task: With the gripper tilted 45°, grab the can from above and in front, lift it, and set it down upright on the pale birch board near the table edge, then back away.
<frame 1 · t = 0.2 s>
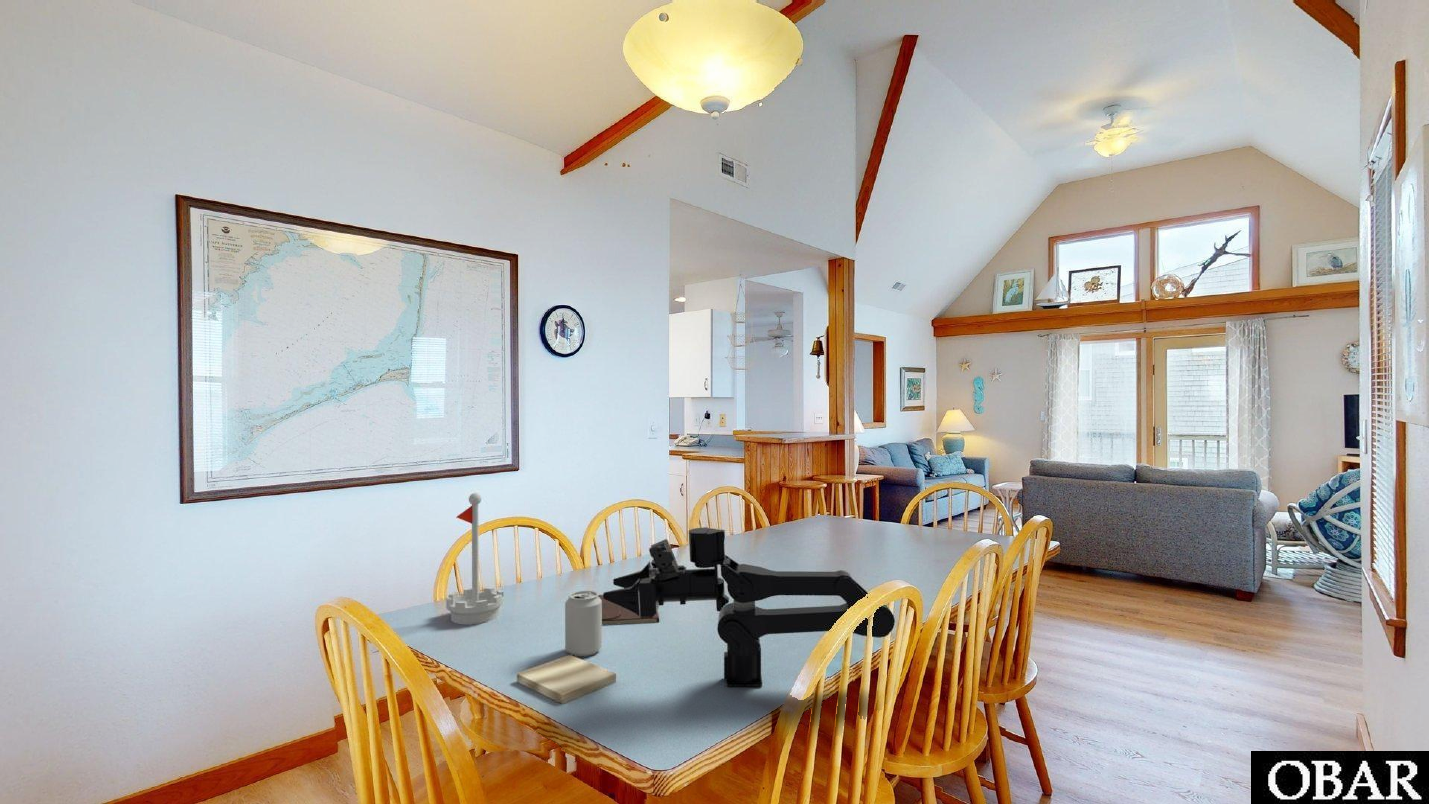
hand: (608, 588, 125), 17 cm above the table, tool horizontal, fingers open, 9 cm apart
notebook: (626, 613, 165), on the table
board: (566, 681, 123), on the table
can: (583, 652, 138), on the table
flag stand: (475, 617, 161), on the table
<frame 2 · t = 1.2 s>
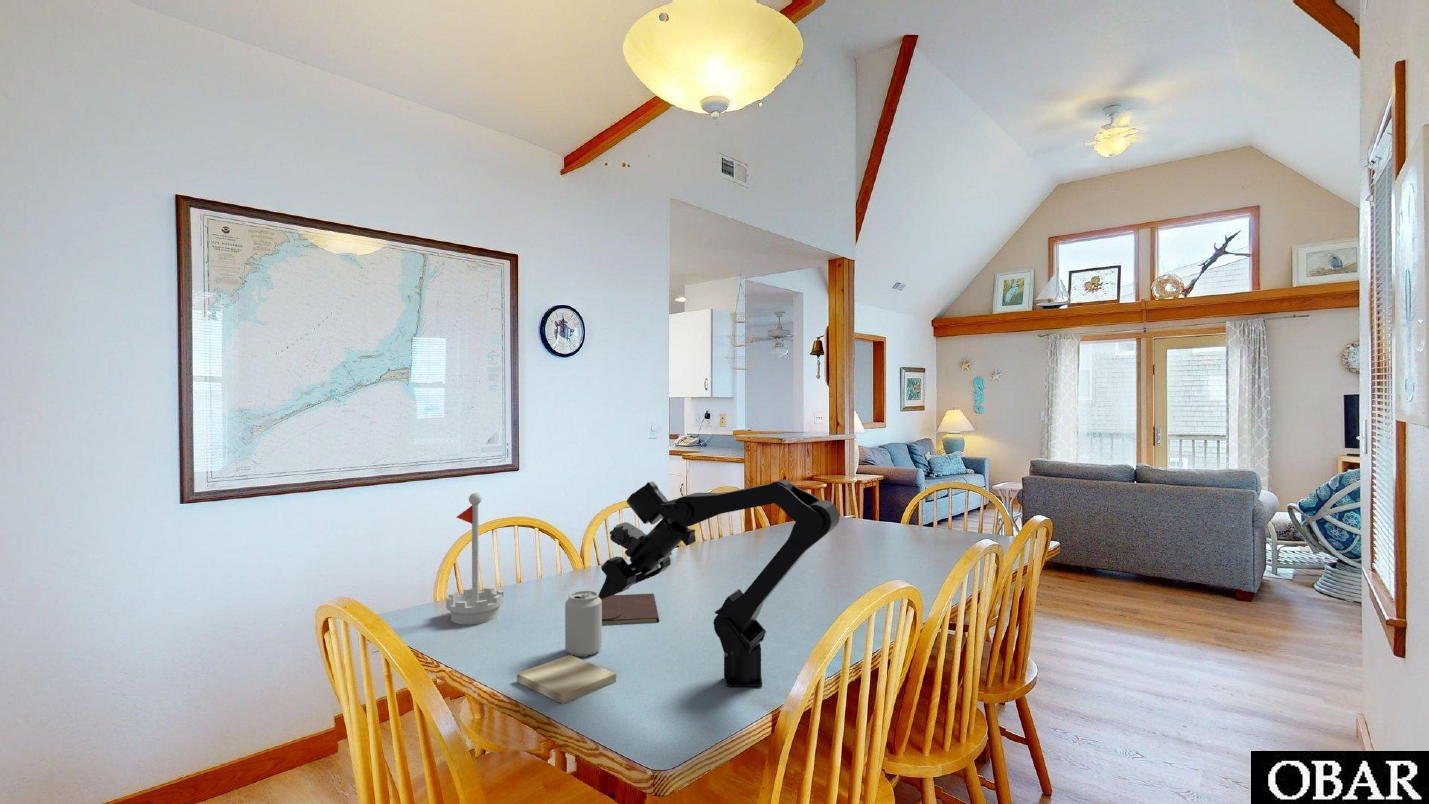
hand: (612, 591, 135), 13 cm above the table, tool tilted 45°, fingers open, 9 cm apart
nothing on the table moved.
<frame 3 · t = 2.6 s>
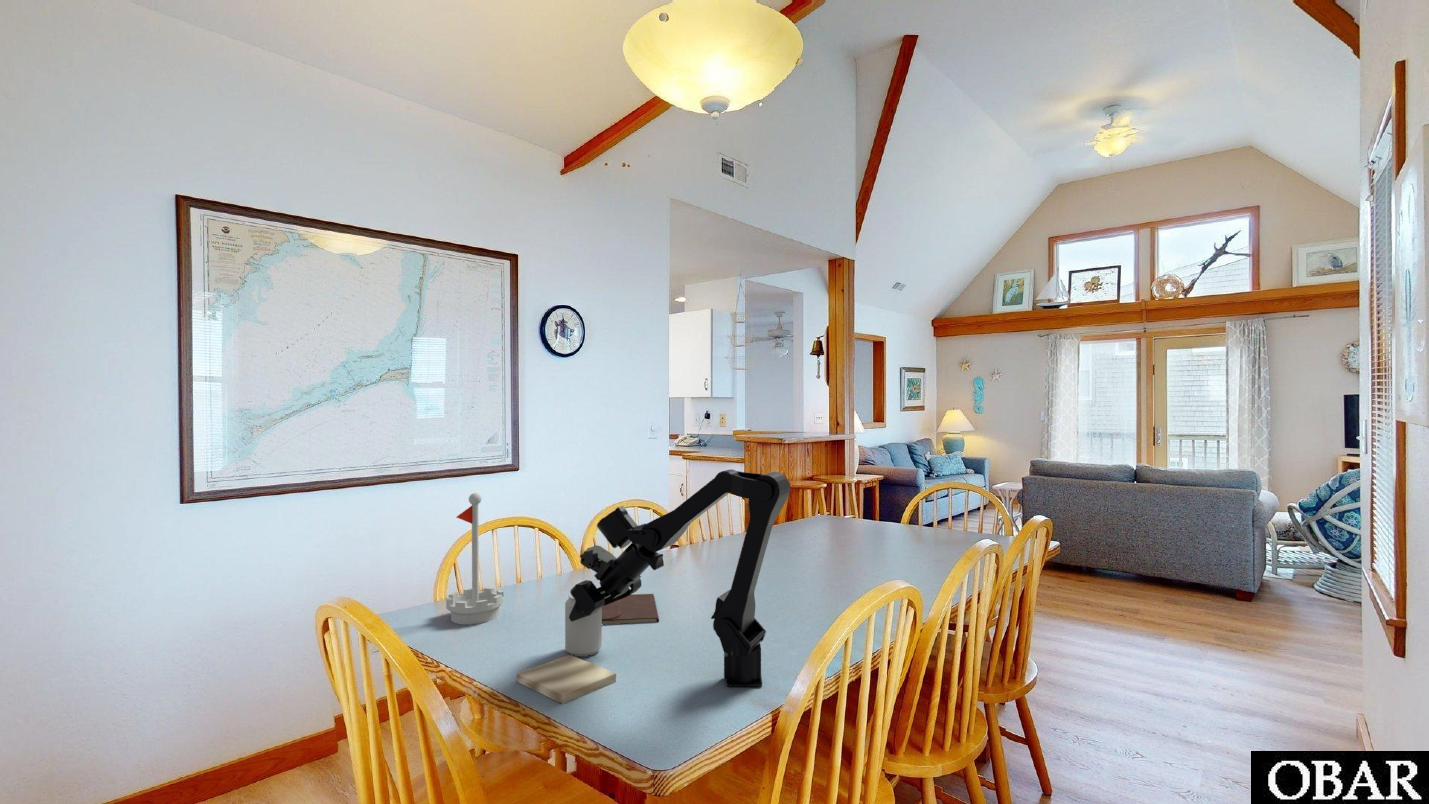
hand: (583, 612, 138), 8 cm above the table, tool tilted 45°, fingers open, 9 cm apart
nothing on the table moved.
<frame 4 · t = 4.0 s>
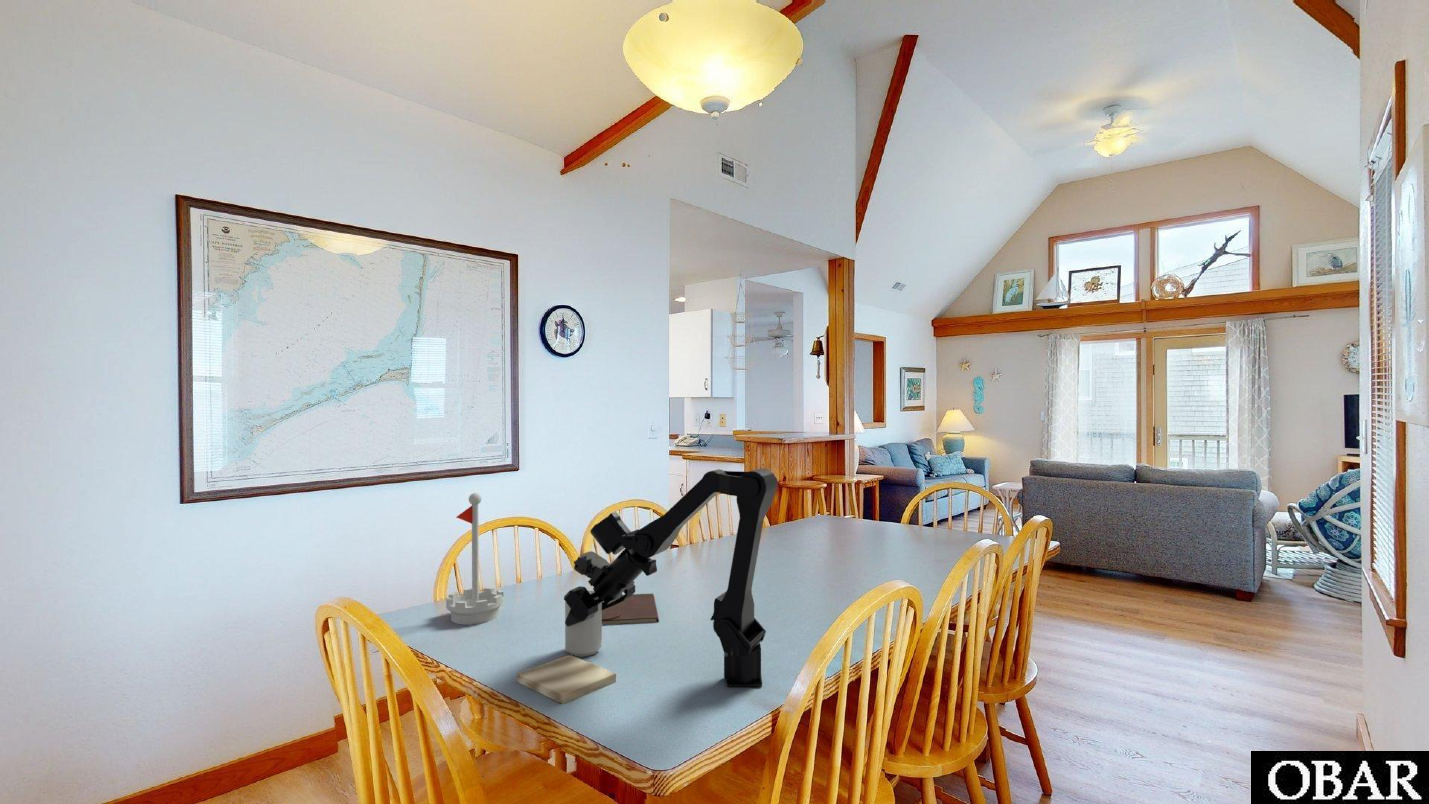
hand: (577, 618, 139), 7 cm above the table, tool tilted 45°, fingers closed on can, 7 cm apart
can: (583, 652, 138), on the table, touching gripper
everything else where it was.
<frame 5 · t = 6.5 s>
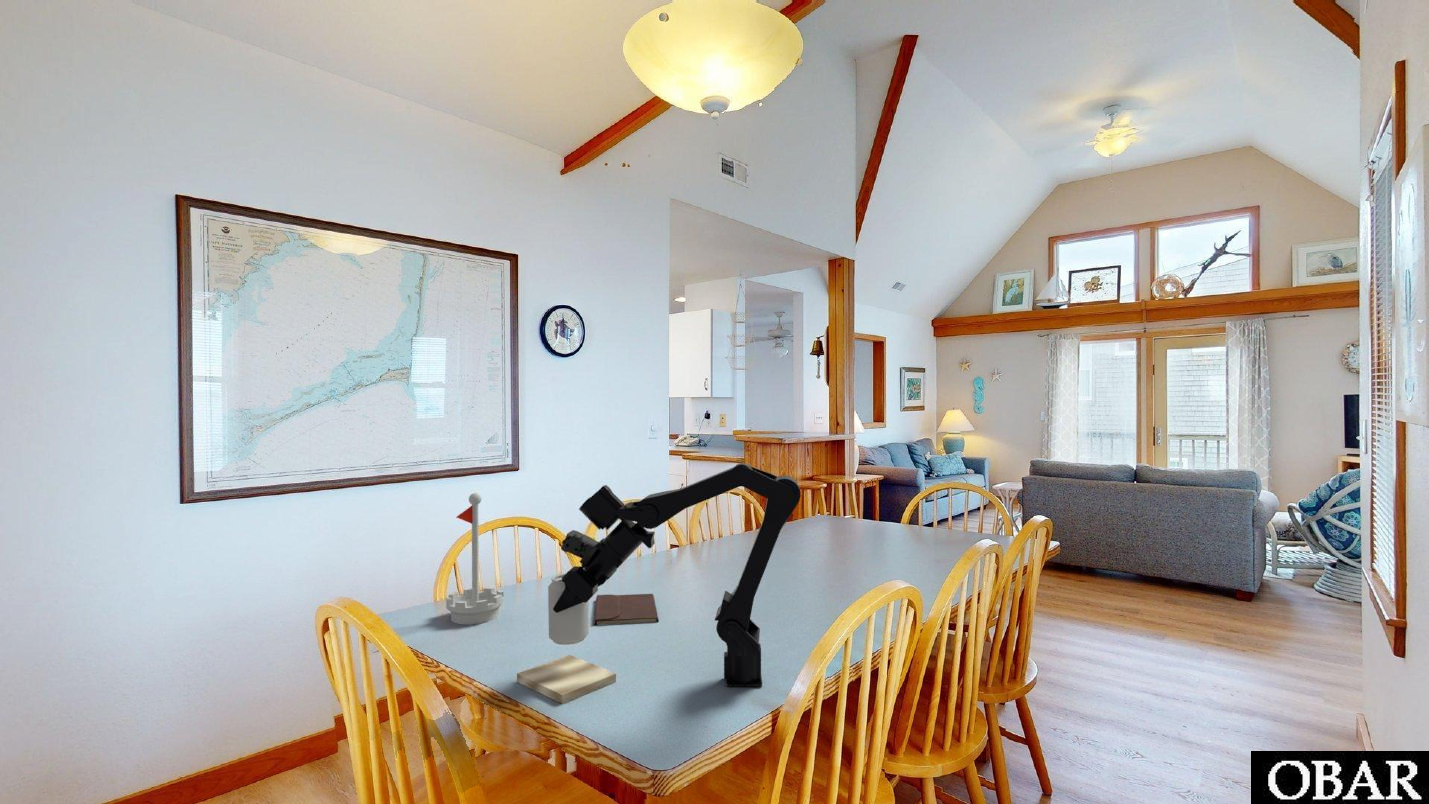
hand: (561, 604, 127), 13 cm above the table, tool tilted 45°, fingers closed on can, 7 cm apart
can: (569, 640, 127), point 6 cm above the table, touching gripper
everything else where it was.
when the fingers open (9 cm above the table, at t = 9.0 s): can stays where it is, resting on board.
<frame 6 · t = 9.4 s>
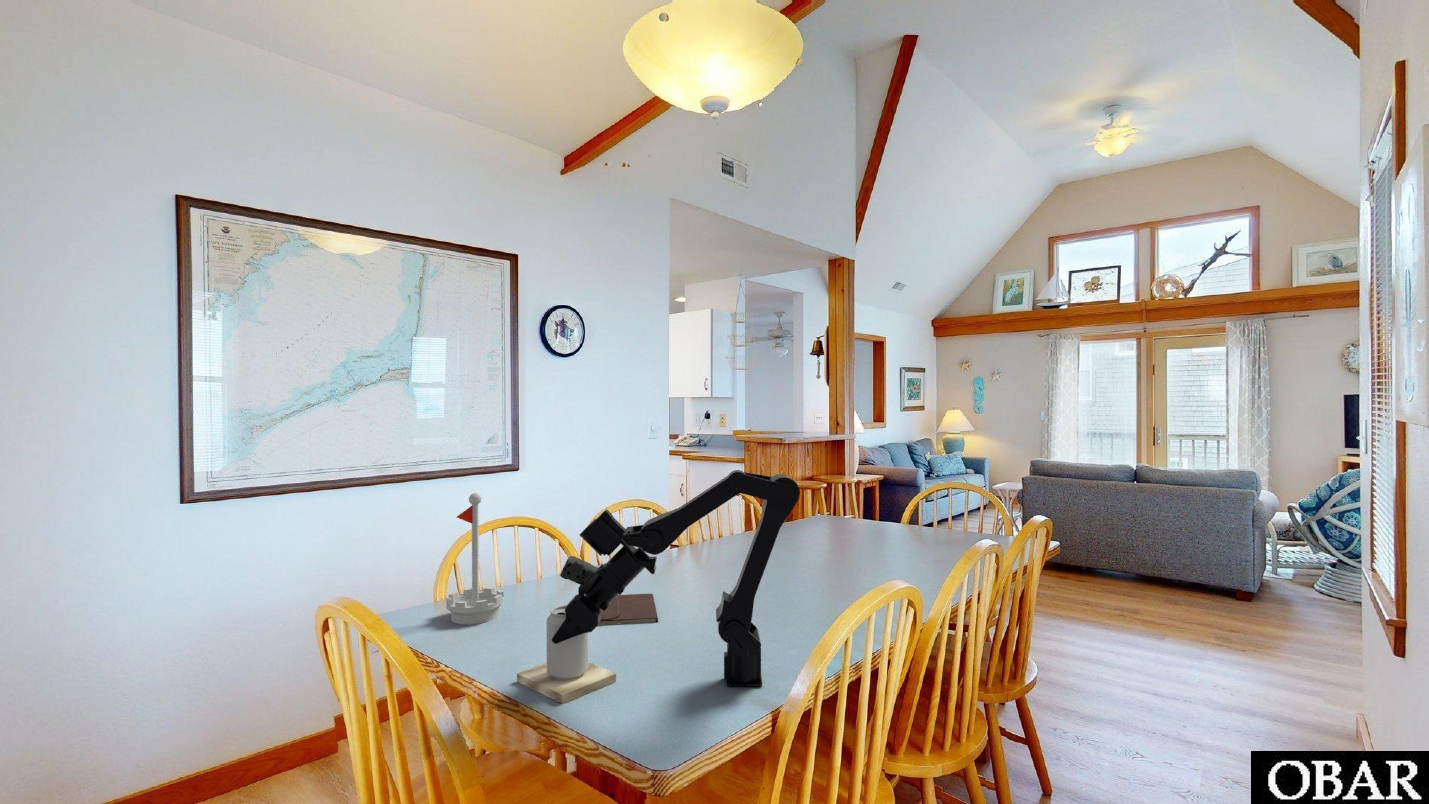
hand: (558, 632, 123), 9 cm above the table, tool tilted 45°, fingers open, 9 cm apart
can: (567, 674, 123), point 1 cm above the table, touching board
everything else where it was.
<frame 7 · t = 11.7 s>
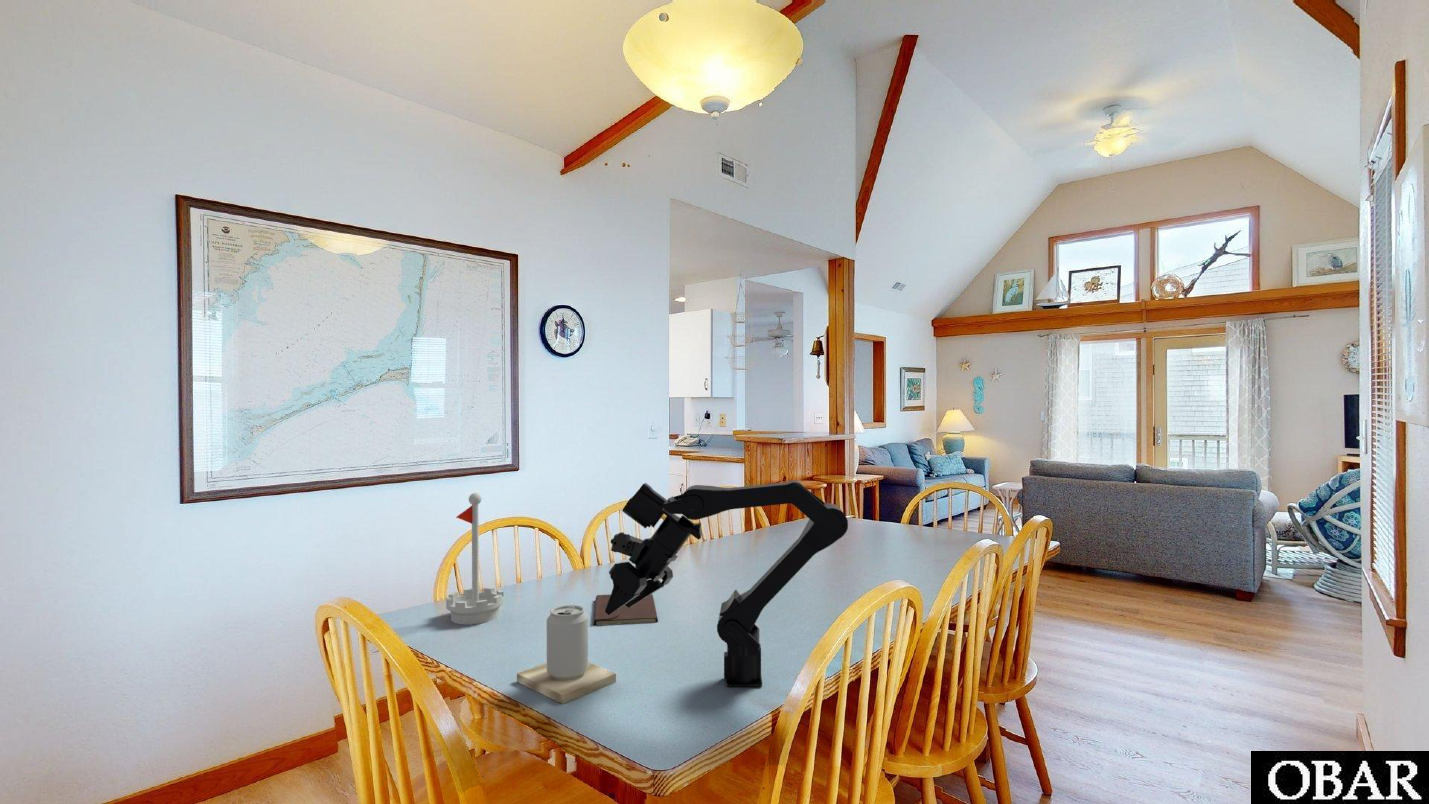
hand: (617, 609, 125), 13 cm above the table, tool tilted 35°, fingers open, 9 cm apart
nothing on the table moved.
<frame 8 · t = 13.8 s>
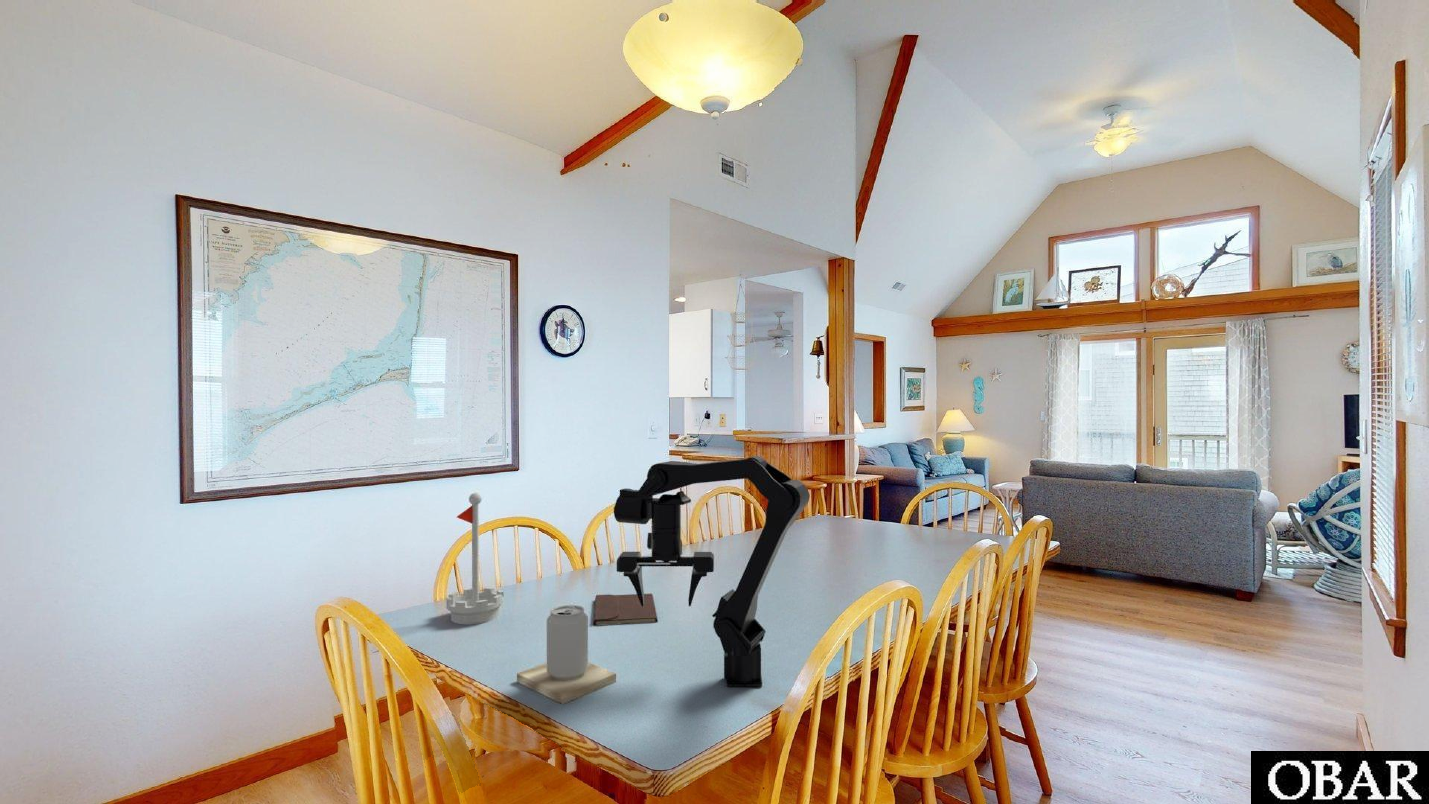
hand: (666, 605, 130), 12 cm above the table, tool pointing down, fingers open, 9 cm apart
nothing on the table moved.
at the end: can inside the target area on the board (0.2 cm from its centre), point 1.3 cm above the board's base; can tilted 0°; the gripper is holding nothing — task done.
